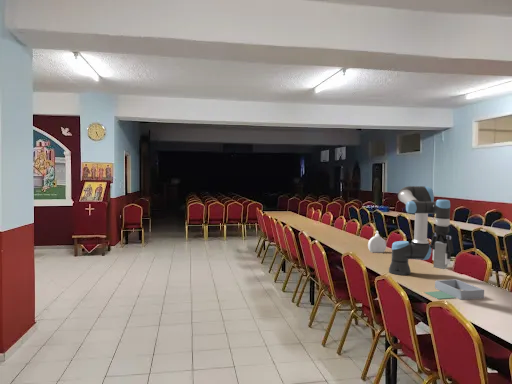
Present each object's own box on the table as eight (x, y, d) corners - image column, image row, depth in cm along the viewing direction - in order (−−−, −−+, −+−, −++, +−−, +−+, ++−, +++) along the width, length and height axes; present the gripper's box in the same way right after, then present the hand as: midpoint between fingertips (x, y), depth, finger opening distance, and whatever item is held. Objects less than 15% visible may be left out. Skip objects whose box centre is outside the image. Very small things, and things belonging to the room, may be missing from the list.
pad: (424, 292, 225) (424, 292, 225) (441, 291, 227) (441, 291, 227) (438, 299, 213) (438, 298, 213) (455, 298, 216) (455, 297, 216)
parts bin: (434, 288, 234) (435, 280, 234) (456, 286, 238) (456, 279, 238) (461, 299, 213) (461, 291, 213) (483, 298, 216) (484, 289, 216)
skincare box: (436, 265, 225) (437, 239, 224) (449, 267, 220) (450, 241, 220) (432, 267, 218) (433, 241, 218) (445, 269, 214) (446, 243, 213)
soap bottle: (383, 251, 348) (384, 230, 347) (386, 252, 343) (386, 231, 342) (367, 251, 347) (368, 230, 346) (369, 252, 342) (370, 231, 341)
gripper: (424, 223, 228) (423, 258, 229) (450, 228, 206) (449, 267, 207) (434, 222, 230) (433, 257, 231) (462, 228, 208) (460, 266, 209)
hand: (441, 262), depth 219 cm, fingers closed on skincare box, 10 cm apart
